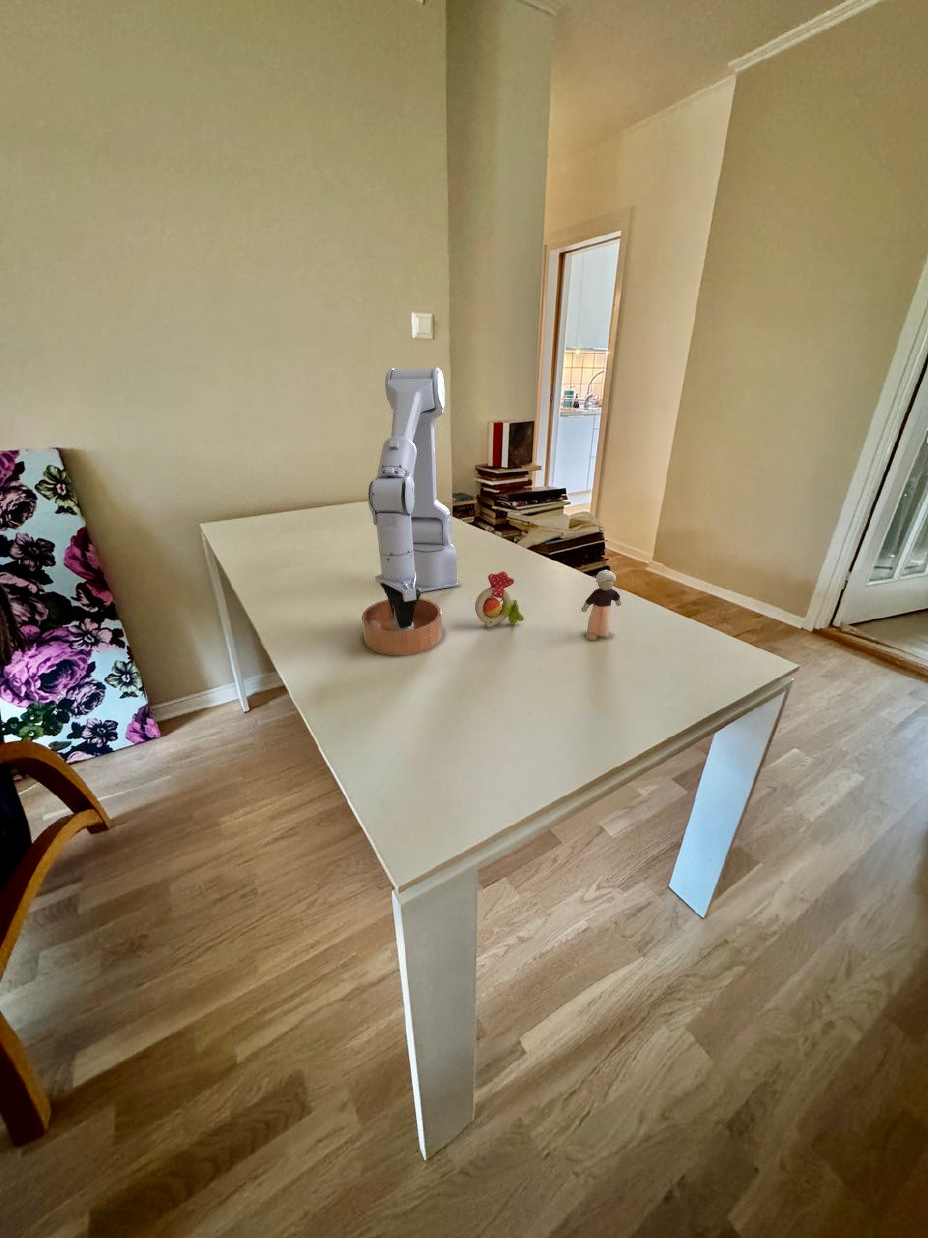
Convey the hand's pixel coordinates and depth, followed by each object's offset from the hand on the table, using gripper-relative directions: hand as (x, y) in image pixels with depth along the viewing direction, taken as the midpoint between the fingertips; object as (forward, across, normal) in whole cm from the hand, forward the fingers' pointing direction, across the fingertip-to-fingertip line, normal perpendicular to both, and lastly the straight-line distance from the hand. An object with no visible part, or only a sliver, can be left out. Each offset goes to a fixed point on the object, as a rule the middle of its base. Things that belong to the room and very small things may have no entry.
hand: (402, 621), depth 87 cm
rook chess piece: (+3, 0, 0) cm, 3 cm away
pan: (+3, 0, 0) cm, 3 cm away
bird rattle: (+3, +3, +18) cm, 19 cm away
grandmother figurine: (+3, +14, +33) cm, 36 cm away
